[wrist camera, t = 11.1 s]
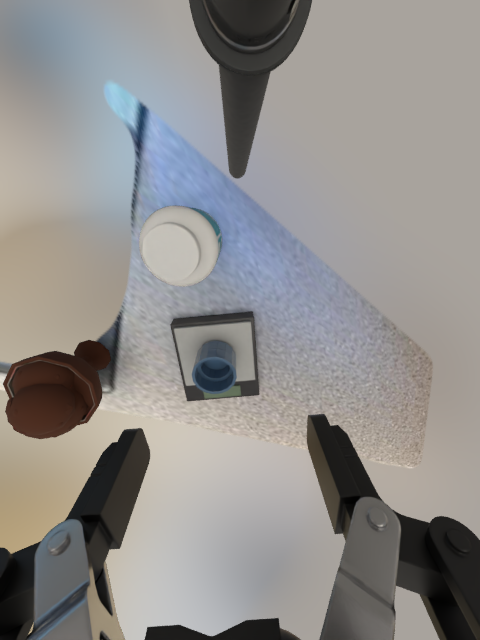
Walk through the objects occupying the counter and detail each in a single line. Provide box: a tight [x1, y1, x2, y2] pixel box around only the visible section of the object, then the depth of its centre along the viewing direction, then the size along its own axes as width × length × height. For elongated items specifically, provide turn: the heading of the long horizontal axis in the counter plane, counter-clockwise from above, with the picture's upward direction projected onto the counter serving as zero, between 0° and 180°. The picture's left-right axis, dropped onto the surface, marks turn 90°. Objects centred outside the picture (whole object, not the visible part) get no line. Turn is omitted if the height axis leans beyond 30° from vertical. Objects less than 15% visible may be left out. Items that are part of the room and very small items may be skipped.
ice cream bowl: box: [3, 340, 111, 439], centre depth 31 cm, size 11×11×15 cm
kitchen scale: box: [171, 312, 259, 401], centre depth 38 cm, size 14×12×3 cm
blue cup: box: [192, 341, 237, 394], centre depth 34 cm, size 6×6×5 cm
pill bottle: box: [139, 206, 222, 286], centre depth 26 cm, size 8×7×14 cm
